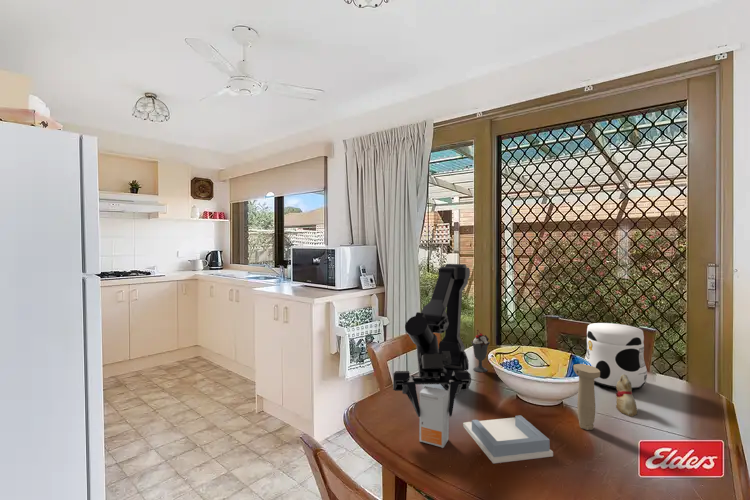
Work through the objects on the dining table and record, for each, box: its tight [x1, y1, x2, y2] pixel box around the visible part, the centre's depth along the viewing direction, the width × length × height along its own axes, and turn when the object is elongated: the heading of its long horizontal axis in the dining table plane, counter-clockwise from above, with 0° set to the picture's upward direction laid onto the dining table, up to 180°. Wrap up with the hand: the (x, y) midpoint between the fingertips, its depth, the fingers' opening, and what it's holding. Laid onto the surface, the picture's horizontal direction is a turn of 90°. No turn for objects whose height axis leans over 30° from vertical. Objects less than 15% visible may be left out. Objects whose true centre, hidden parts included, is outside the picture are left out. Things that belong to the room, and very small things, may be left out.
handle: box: [573, 363, 600, 431], centre depth 94 cm, size 5×6×15 cm
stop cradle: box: [462, 414, 554, 464], centre depth 89 cm, size 16×14×4 cm
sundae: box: [470, 329, 491, 373], centre depth 136 cm, size 7×7×15 cm
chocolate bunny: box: [615, 375, 638, 417], centre depth 104 cm, size 6×8×10 cm
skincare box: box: [418, 386, 450, 449], centre depth 89 cm, size 6×4×12 cm
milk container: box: [584, 322, 648, 390], centre depth 122 cm, size 17×17×18 cm
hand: (434, 416), depth 88 cm, fingers closed on skincare box, 7 cm apart
